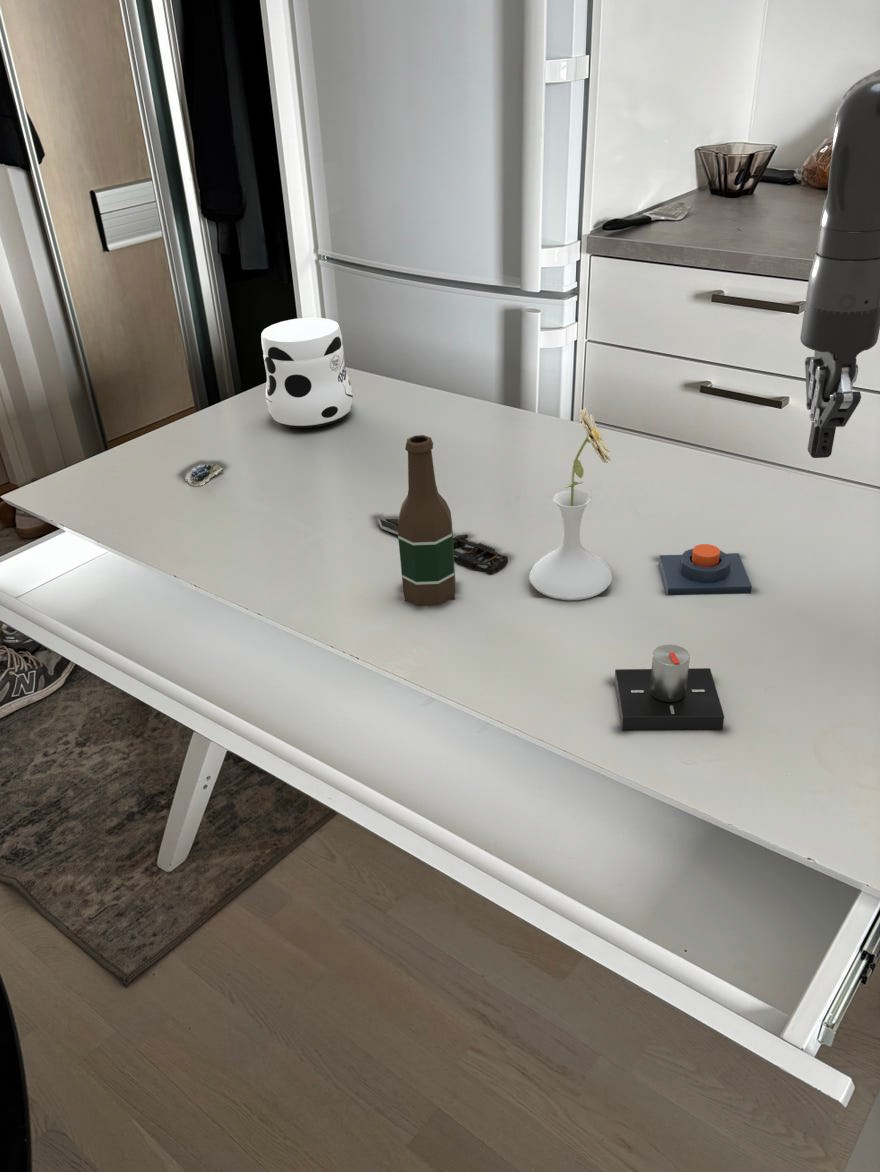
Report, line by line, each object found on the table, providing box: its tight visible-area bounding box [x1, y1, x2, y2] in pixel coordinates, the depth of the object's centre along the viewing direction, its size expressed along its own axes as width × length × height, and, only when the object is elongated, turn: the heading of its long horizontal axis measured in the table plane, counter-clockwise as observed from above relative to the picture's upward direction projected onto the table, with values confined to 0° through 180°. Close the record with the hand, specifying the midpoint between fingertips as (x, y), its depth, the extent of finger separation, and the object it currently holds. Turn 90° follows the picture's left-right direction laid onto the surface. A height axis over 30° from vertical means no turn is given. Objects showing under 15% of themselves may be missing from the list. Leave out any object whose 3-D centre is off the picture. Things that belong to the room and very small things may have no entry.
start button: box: [692, 543, 721, 567], centre depth 134 cm, size 4×4×2 cm
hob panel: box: [614, 667, 725, 732], centre depth 113 cm, size 11×9×3 cm
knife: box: [377, 518, 509, 574], centre depth 151 cm, size 25×6×1 cm, turn 41°
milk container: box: [260, 317, 354, 429], centre depth 193 cm, size 17×17×18 cm
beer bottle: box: [397, 434, 456, 607], centre depth 132 cm, size 8×8×24 cm
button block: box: [658, 548, 753, 596], centre depth 135 cm, size 11×9×4 cm
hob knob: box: [650, 644, 691, 702], centre depth 111 cm, size 4×4×6 cm
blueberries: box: [184, 463, 224, 487], centre depth 178 cm, size 7×8×2 cm
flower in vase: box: [529, 407, 613, 601], centre depth 131 cm, size 13×11×25 cm
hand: (818, 454), depth 110 cm, fingers closed
